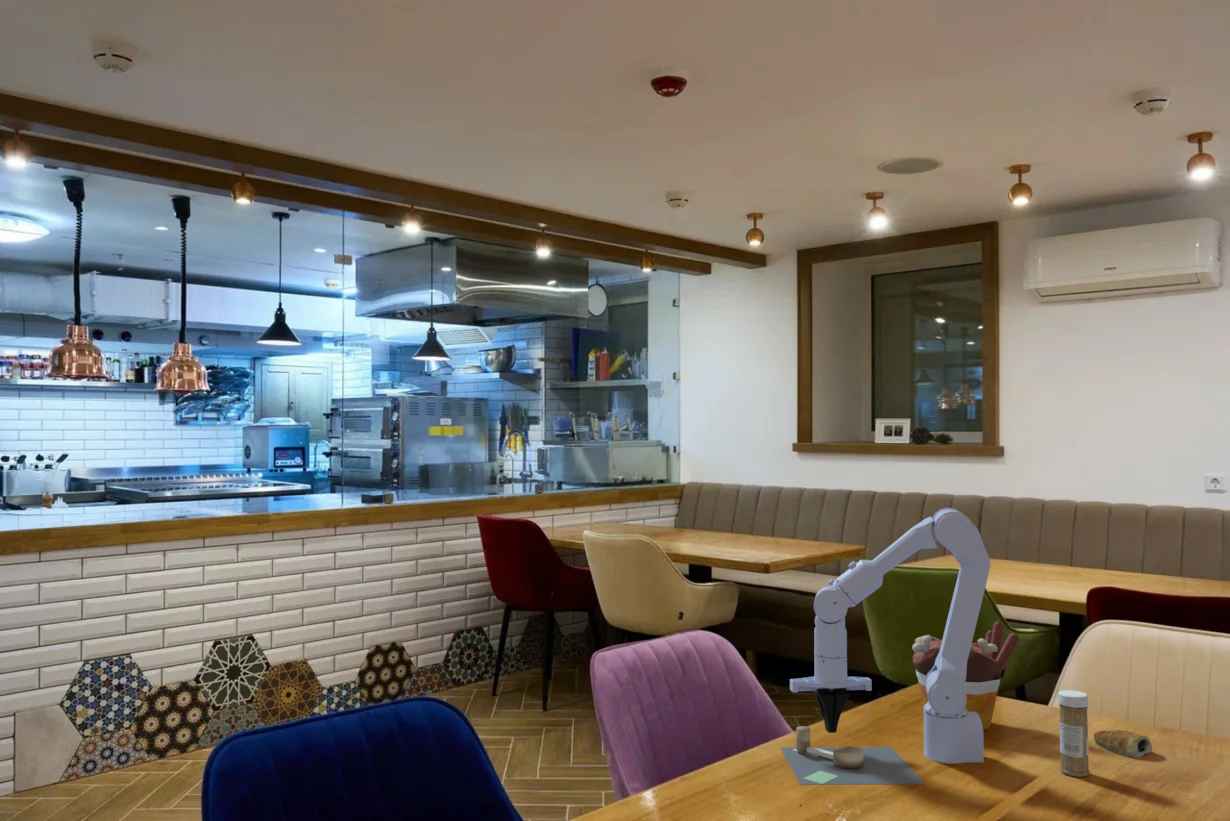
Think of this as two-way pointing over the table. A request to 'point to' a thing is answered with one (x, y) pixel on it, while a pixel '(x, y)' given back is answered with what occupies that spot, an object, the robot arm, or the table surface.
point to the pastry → (1124, 742)
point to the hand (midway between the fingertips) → (830, 731)
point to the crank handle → (840, 755)
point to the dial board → (877, 768)
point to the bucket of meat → (971, 668)
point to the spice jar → (1074, 733)
